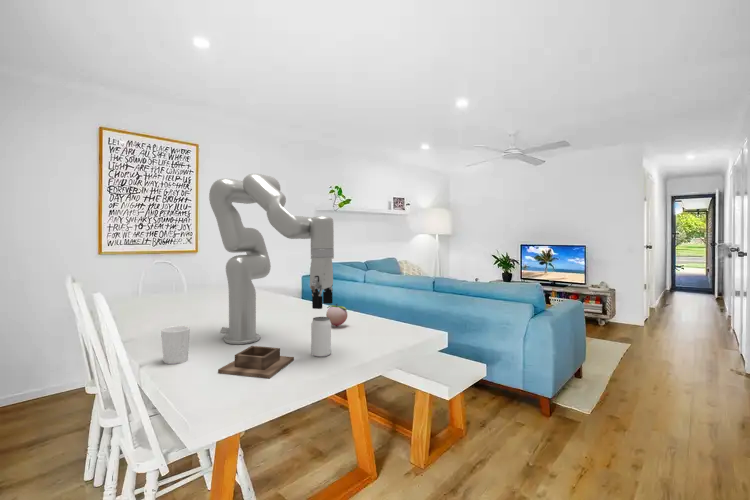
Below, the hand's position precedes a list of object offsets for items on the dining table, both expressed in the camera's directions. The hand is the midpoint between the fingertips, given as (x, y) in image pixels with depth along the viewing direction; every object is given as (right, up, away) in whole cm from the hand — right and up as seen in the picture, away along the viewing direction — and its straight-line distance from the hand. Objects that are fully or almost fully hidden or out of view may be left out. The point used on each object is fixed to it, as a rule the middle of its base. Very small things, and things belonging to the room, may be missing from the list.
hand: (322, 305), depth 129 cm
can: (-1, -16, +1) cm, 16 cm away
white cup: (-45, -16, -7) cm, 48 cm away
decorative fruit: (+1, -15, +39) cm, 41 cm away
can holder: (-18, -17, -11) cm, 27 cm away
